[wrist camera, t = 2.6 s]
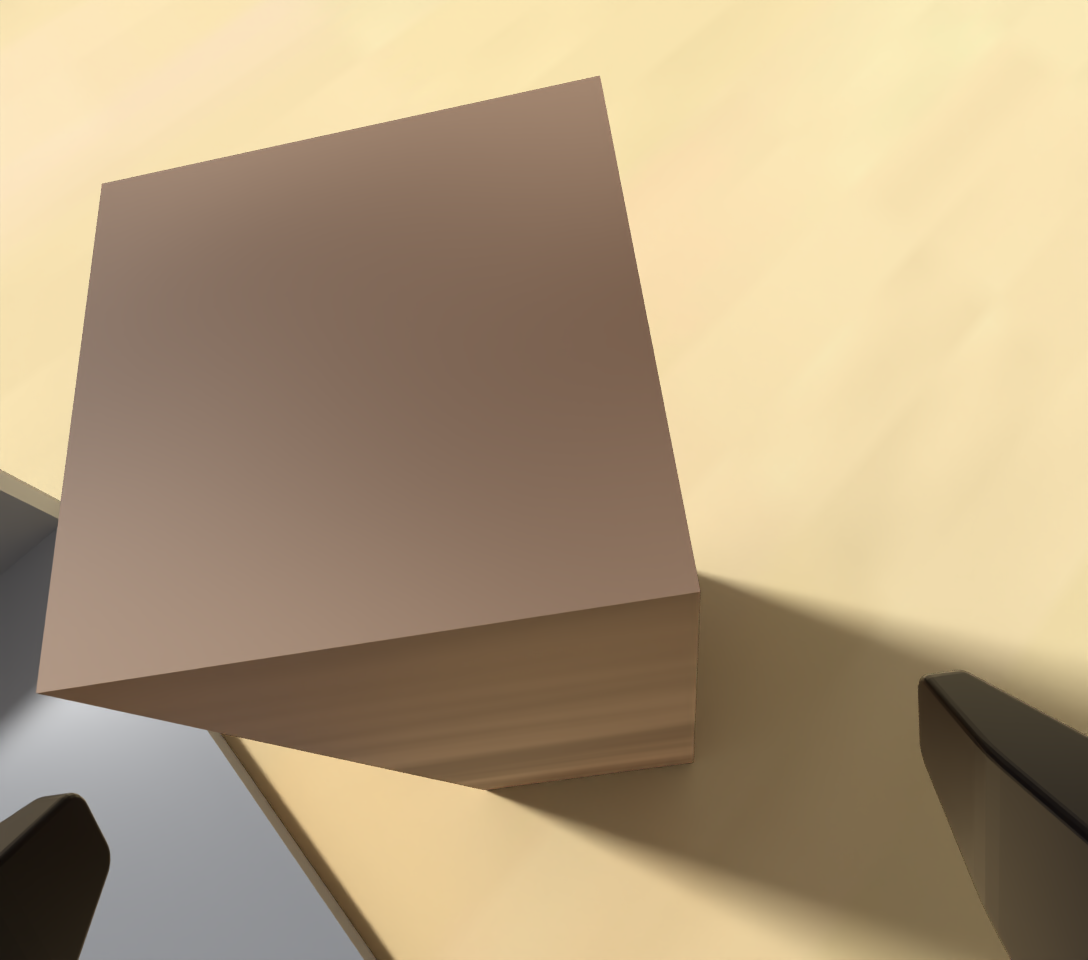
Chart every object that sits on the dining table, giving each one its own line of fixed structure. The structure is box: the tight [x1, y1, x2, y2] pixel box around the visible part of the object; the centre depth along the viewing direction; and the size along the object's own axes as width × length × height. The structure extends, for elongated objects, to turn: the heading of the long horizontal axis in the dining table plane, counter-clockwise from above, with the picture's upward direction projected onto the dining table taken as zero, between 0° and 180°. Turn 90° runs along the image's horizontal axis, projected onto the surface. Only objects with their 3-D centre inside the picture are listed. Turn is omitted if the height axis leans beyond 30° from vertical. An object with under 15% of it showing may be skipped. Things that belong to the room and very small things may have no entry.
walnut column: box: [36, 76, 700, 790], centre depth 13 cm, size 5×5×14 cm
